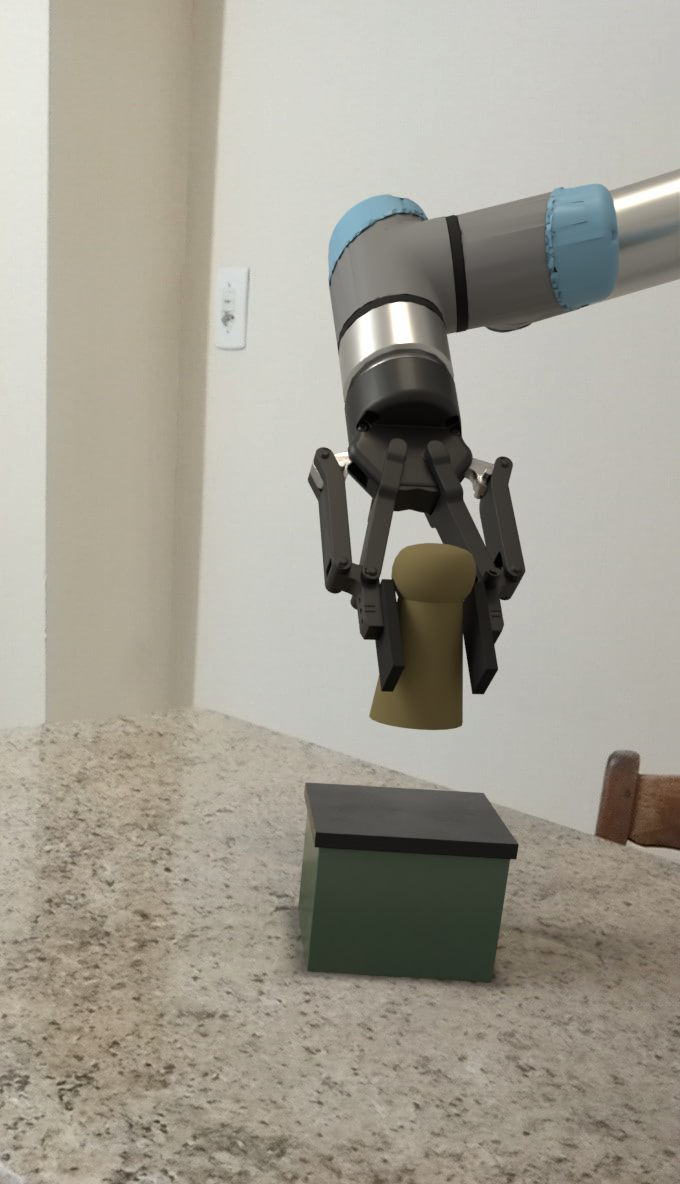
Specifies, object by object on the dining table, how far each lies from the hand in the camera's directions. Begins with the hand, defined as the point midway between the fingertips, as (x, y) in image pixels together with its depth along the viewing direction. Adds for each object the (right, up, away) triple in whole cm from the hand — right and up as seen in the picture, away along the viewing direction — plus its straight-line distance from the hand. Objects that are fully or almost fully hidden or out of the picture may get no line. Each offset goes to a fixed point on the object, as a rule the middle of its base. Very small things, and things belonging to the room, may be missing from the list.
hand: (439, 679), depth 85 cm
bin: (-1, -16, +10) cm, 19 cm away
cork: (0, -2, +5) cm, 5 cm away
